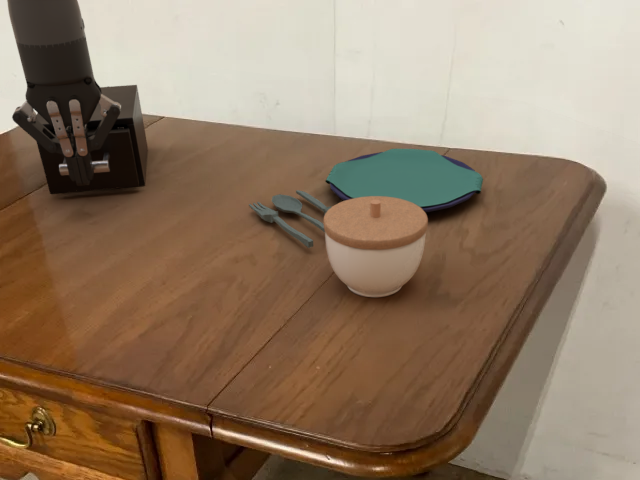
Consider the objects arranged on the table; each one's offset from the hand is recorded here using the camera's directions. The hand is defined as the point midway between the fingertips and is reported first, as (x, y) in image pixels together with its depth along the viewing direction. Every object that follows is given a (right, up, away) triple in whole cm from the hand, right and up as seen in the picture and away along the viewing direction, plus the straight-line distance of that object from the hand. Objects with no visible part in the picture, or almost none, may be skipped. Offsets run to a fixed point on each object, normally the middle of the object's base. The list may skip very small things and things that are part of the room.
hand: (84, 182), depth 96 cm
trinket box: (+36, -15, -12) cm, 41 cm away
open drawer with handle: (-1, +4, +10) cm, 11 cm away
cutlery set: (+36, -1, +4) cm, 37 cm away
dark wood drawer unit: (-2, +6, +15) cm, 16 cm away
